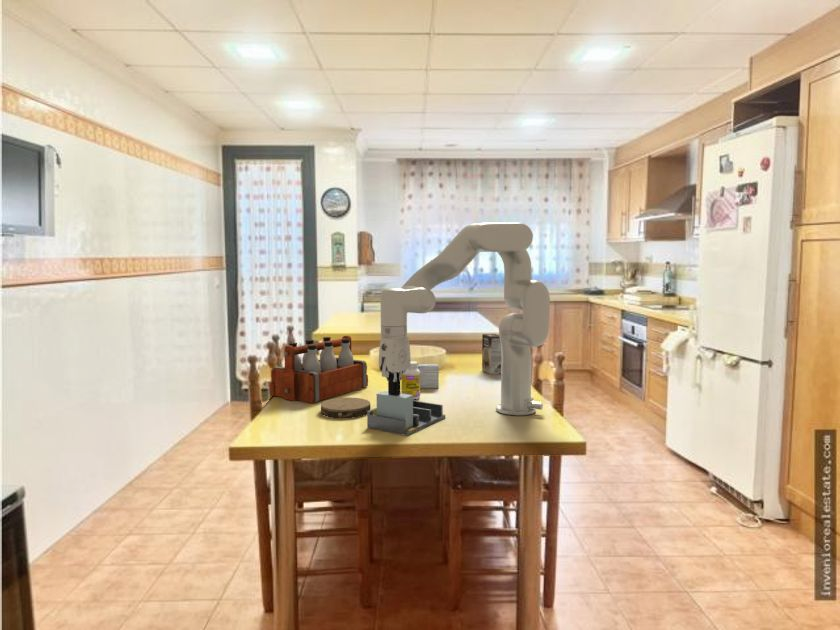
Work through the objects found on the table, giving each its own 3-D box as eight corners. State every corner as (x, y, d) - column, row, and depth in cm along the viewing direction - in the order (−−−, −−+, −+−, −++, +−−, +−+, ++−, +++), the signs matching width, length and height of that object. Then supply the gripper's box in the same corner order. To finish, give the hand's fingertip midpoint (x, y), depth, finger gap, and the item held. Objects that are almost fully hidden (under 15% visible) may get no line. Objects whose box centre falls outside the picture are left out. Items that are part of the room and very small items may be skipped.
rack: (445, 417, 180) (445, 402, 179) (407, 435, 162) (407, 418, 162) (407, 411, 187) (407, 396, 187) (367, 427, 170) (367, 411, 169)
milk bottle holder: (264, 397, 207) (263, 344, 205) (331, 380, 236) (330, 333, 234) (308, 406, 195) (306, 349, 193) (372, 386, 224) (371, 337, 222)
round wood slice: (325, 406, 196) (324, 397, 195) (372, 406, 196) (372, 397, 195) (316, 419, 180) (316, 409, 179) (368, 419, 180) (368, 409, 179)
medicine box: (438, 385, 225) (438, 363, 224) (438, 388, 220) (438, 366, 219) (417, 386, 224) (417, 364, 224) (417, 388, 220) (417, 366, 219)
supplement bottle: (403, 401, 201) (403, 364, 200) (399, 396, 207) (399, 361, 206) (422, 399, 203) (422, 363, 202) (417, 395, 209) (417, 360, 208)
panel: (413, 425, 168) (412, 395, 167) (405, 429, 165) (405, 398, 164) (384, 420, 173) (384, 391, 173) (376, 423, 170) (376, 393, 169)
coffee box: (481, 370, 255) (481, 333, 253) (494, 369, 257) (495, 333, 255) (490, 374, 246) (490, 336, 245) (503, 373, 248) (504, 336, 247)
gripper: (389, 335, 158) (389, 401, 160) (419, 329, 170) (419, 391, 172) (367, 333, 162) (368, 398, 164) (398, 328, 174) (398, 388, 176)
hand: (394, 394), depth 168 cm, fingers closed
